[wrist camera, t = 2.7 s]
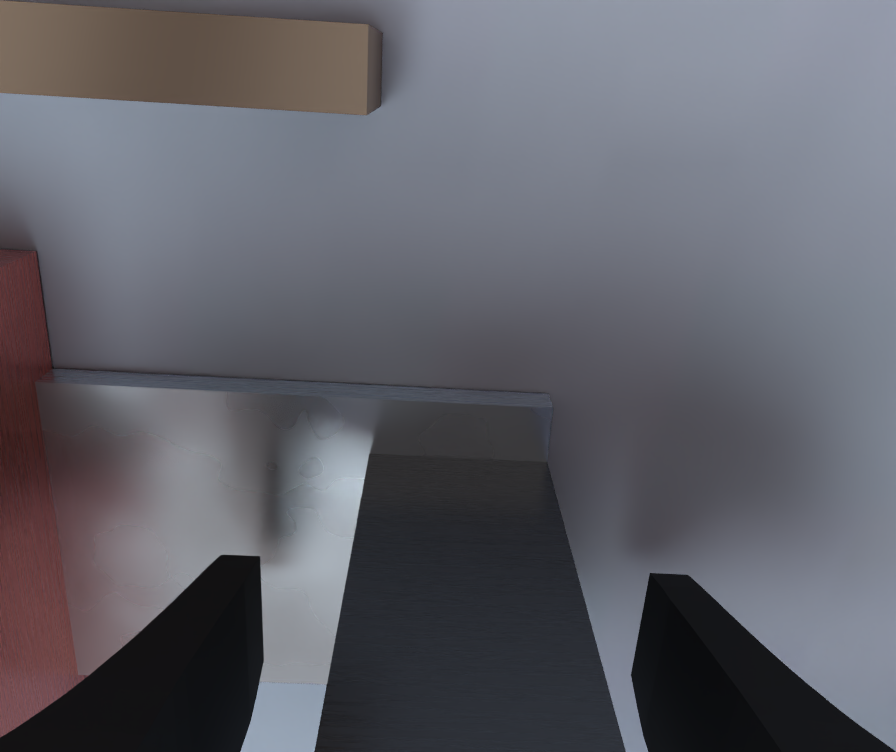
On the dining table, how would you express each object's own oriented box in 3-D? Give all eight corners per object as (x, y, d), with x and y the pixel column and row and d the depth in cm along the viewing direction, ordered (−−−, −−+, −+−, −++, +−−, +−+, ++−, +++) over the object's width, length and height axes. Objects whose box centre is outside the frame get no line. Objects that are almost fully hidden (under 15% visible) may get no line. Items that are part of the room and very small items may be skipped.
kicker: (562, 280, 13) (691, 507, 6) (507, 745, 16) (553, 1196, 10) (-80, 244, 12) (-665, 444, 6) (13, 726, 16) (-281, 1180, 9)
